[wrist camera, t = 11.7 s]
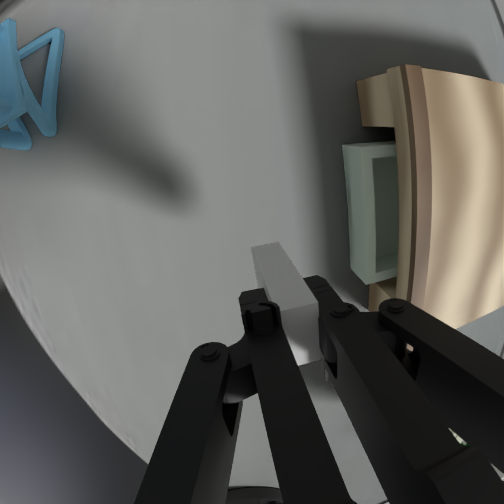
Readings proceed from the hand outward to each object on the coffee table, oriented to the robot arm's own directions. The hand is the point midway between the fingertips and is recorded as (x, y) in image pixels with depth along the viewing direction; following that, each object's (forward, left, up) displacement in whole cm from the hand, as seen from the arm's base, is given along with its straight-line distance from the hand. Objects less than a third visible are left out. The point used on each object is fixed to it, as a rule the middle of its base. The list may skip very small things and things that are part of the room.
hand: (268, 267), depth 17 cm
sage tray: (+15, +1, -6) cm, 17 cm away
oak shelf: (+18, +1, -6) cm, 19 cm away
